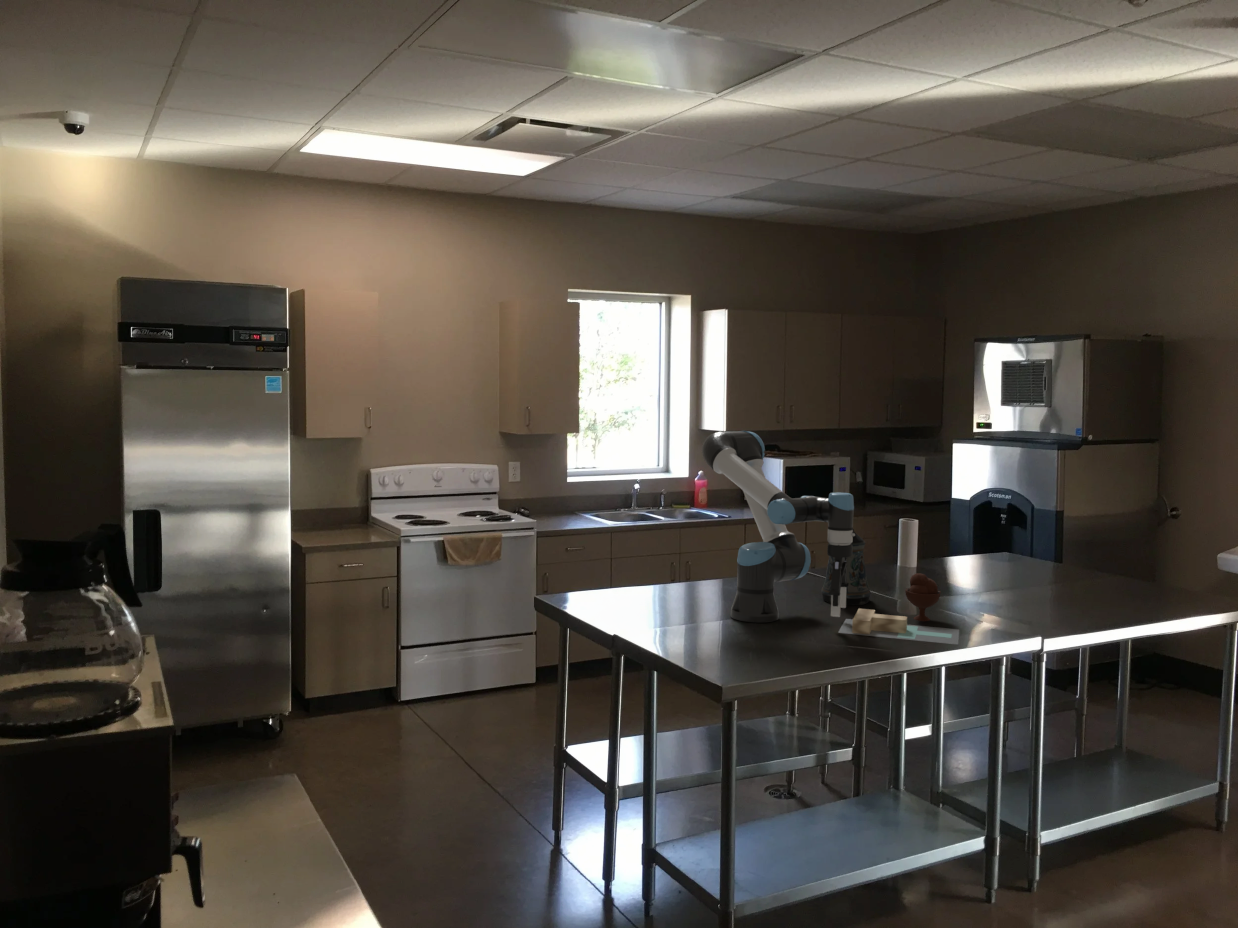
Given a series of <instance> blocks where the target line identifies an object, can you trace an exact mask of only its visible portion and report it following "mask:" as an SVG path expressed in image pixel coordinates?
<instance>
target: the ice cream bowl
mask: <svg viewBox="0 0 1238 928" xmlns="http://www.w3.org/2000/svg"><path fill="white" fill-rule="evenodd" d="M909 586H910V587H909V588H905V591H904V592H905V596H906V599H907V600H908V602H909V603H910V604H911V605H913V606H915V607H917V608H918V610H919V611H918V613H919V614H918V615H915V616H914V617H913V620H915V621H920V622H929V621H931V618H930V617H928V616H927V615H926V609H927V608H931V607H933V606H934V605H936V604H937V602H938V601H939V600H940V596H941V593H942V592H941V590H938V585H937V582H935V580H933V579H932V578H929V577H928V576H927V575H926V574H924V573H914V574H913V575H911V577H910V579H909Z"/></svg>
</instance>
